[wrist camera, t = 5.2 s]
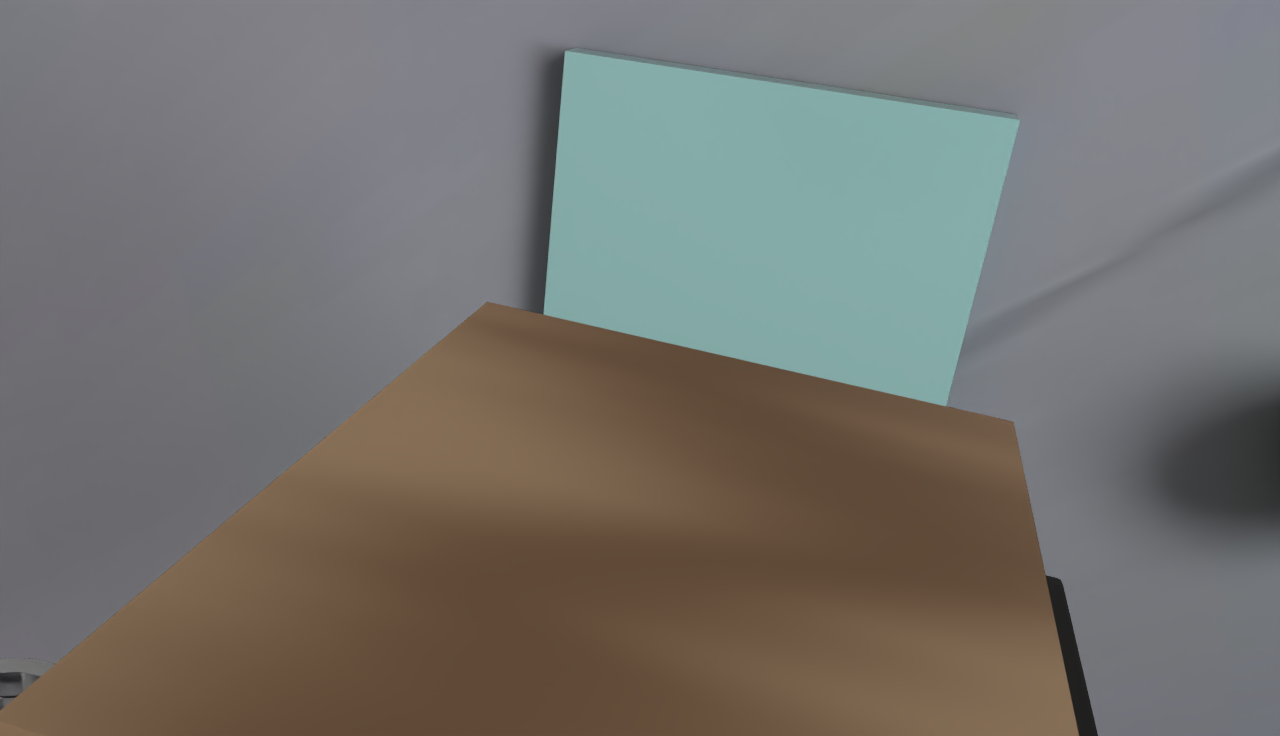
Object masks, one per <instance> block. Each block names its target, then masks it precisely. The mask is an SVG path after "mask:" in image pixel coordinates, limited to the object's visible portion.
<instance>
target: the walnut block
mask: <svg viewBox="0 0 1280 736" xmlns="http://www.w3.org/2000/svg"><path fill="white" fill-rule="evenodd" d="M0 736H1079V733H1078V728H1077V724H1076V719H1075V714H1074V709H1073V705H1072V700H1071V695H1070V690H1069V685H1068V681H1067V676H1066V671H1065V666H1064V662H1063V657H1062V652H1061V647H1060V642H1059V638H1058V633H1057V628H1056V623H1055V618H1054V614H1053V609H1052V604H1051V599H1050V595H1049V590H1048V585H1047V580H1046V575H1045V571H1044V566H1043V561H1042V556H1041V552H1040V547H1039V542H1038V537H1037V532H1036V528H1035V523H1034V518H1033V513H1032V509H1031V504H1030V499H1029V494H1028V489H1027V485H1026V480H1025V475H1024V470H1023V465H1022V461H1021V456H1020V451H1019V446H1018V442H1017V437H1016V432H1015V427H1014V422H1012V421H1008V420H1004V419H999V418H995V417H990V416H986V415H982V414H977V413H973V412H968V411H964V410H960V409H955V408H951V407H947V406H942V405H938V404H933V403H929V402H925V401H920V400H916V399H911V398H907V397H903V396H898V395H894V394H890V393H885V392H881V391H876V390H872V389H868V388H863V387H859V386H854V385H850V384H846V383H841V382H837V381H832V380H828V379H824V378H819V377H815V376H811V375H806V374H802V373H797V372H793V371H789V370H784V369H780V368H775V367H771V366H767V365H762V364H758V363H754V362H749V361H745V360H740V359H736V358H732V357H727V356H723V355H718V354H714V353H710V352H705V351H701V350H697V349H692V348H688V347H683V346H679V345H675V344H670V343H666V342H661V341H657V340H653V339H648V338H644V337H640V336H635V335H631V334H626V333H622V332H618V331H613V330H609V329H604V328H600V327H596V326H591V325H587V324H582V323H578V322H574V321H569V320H565V319H561V318H556V317H552V316H547V315H543V314H539V313H534V312H530V311H525V310H521V309H517V308H512V307H508V306H504V305H499V304H495V303H490V302H486V303H485V304H484V305H483V306H482V307H481V308H479V309H478V310H477V311H476V312H475V313H473V314H472V315H471V316H470V317H469V318H467V319H466V320H465V321H464V322H463V323H461V324H460V325H459V326H458V327H457V328H456V329H454V330H453V331H452V332H451V333H450V334H448V335H447V336H446V337H445V338H444V339H442V340H441V341H440V342H439V343H438V344H436V345H435V346H434V347H433V348H432V349H430V350H429V351H428V352H427V353H426V354H425V355H423V356H422V357H421V358H420V359H419V360H417V361H416V362H415V363H414V364H413V365H411V366H410V367H409V368H408V369H407V370H405V371H404V372H403V373H402V374H401V375H399V376H398V377H397V378H396V379H395V380H394V381H392V382H391V383H390V384H389V385H388V386H386V387H385V388H384V389H383V390H382V391H380V392H379V393H378V394H377V395H376V396H374V397H373V398H372V399H371V400H370V401H369V402H367V403H366V404H365V405H364V406H363V407H361V408H360V409H359V410H358V411H357V412H355V413H354V414H353V415H352V416H351V417H349V418H348V419H347V420H346V421H345V422H343V423H342V424H341V425H340V426H339V427H338V428H336V429H335V430H334V431H333V432H332V433H330V434H329V435H328V436H327V437H326V438H324V439H323V440H322V441H321V442H320V443H318V444H317V445H316V446H315V447H314V448H313V449H311V450H310V451H309V452H308V453H307V454H305V455H304V456H303V457H302V458H301V459H299V460H298V461H297V462H296V463H295V464H293V465H292V466H291V467H290V468H289V469H287V470H286V471H285V472H284V473H283V474H282V475H280V476H279V477H278V478H277V479H276V480H274V481H273V482H272V483H271V484H270V485H268V486H267V487H266V488H265V489H264V490H262V491H261V492H260V493H259V494H258V495H257V496H255V497H254V498H253V499H252V500H251V501H249V502H248V503H247V504H246V505H245V506H243V507H242V508H241V509H240V510H239V511H237V512H236V513H235V514H234V515H233V516H231V517H230V518H229V519H228V520H227V521H226V522H224V523H223V524H222V525H221V526H220V527H218V528H217V529H216V530H215V531H214V532H212V533H211V534H210V535H209V536H208V537H206V538H205V539H204V540H203V541H202V542H201V543H199V544H198V545H197V546H196V547H195V548H193V549H192V550H191V551H190V552H189V553H187V554H186V555H185V556H184V557H183V558H181V559H180V560H179V561H178V562H177V563H175V564H174V565H173V566H172V567H171V568H170V569H168V570H167V571H166V572H165V573H164V574H162V575H161V576H160V577H159V578H158V579H156V580H155V581H154V582H153V583H152V584H150V585H149V586H148V587H147V588H146V589H145V590H143V591H142V592H141V593H140V594H139V595H137V596H136V597H135V598H134V599H133V600H131V601H130V602H129V603H128V604H127V605H125V606H124V607H123V608H122V609H121V610H119V611H118V612H117V613H116V614H115V615H114V616H112V617H111V618H110V619H109V620H108V621H106V622H105V623H104V624H103V625H102V626H100V627H99V628H98V629H97V630H96V631H94V632H93V633H92V634H91V635H90V636H88V637H87V638H86V639H85V640H84V641H83V642H81V643H80V644H79V645H78V646H77V647H75V648H74V649H73V650H72V651H71V652H69V653H68V654H67V655H66V656H65V657H63V658H62V659H61V660H60V661H59V662H58V663H56V664H55V665H54V666H53V667H52V668H50V669H49V670H48V671H47V672H46V673H44V674H43V675H42V676H41V677H40V678H38V679H37V680H36V681H35V682H34V683H32V684H31V685H30V686H29V687H28V688H27V689H25V690H24V691H23V692H22V693H21V694H19V695H18V696H17V697H16V698H15V699H13V700H12V701H11V702H10V703H9V704H7V705H6V706H5V707H4V708H3V709H2V710H0Z"/></svg>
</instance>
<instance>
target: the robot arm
mask: <svg viewBox="0 0 1280 736" xmlns="http://www.w3.org/2000/svg"><path fill="white" fill-rule="evenodd" d="M1046 580H1047V585H1048V590H1049V595H1050V599H1051V604H1052V609H1053V614H1054V618H1055V623H1056V628H1057V633H1058V638H1059V642H1060V647H1061V652H1062V657H1063V662H1064V666H1065V671H1066V676H1067V681H1068V685H1069V690H1070V695H1071V700H1072V705H1073V709H1074V714H1075V719H1076V724H1077V728H1078V733H1079V736H1098V734H1097V730H1096V725H1095V721H1094V717H1093V713H1092V708H1091V704H1090V700H1089V695H1088V691H1087V687H1086V682H1085V678H1084V674H1083V669H1082V665H1081V661H1080V657H1079V652H1078V648H1077V644H1076V639H1075V635H1074V631H1073V626H1072V622H1071V618H1070V613H1069V609H1068V605H1067V601H1066V596H1065V592H1064V588H1063V585H1062V582H1061V580H1060V579H1058V578H1055V577H1051V576H1047V575H1046ZM55 664H56V663H51V662H46V661H40V660H35V659H0V710H2V709H3V708H4V707H5V706H6V705H7V704H9V703H10V702H11V701H12V700H13V699H15V698H16V697H17V696H18V695H19V694H21V693H22V692H23V691H24V690H25V689H27V688H28V687H29V686H30V685H31V684H32V683H34V682H35V681H36V680H37V679H38V678H40V677H41V676H42V675H43V674H44V673H46V672H47V671H48V670H49V669H50V668H52V667H53V666H54V665H55Z"/></svg>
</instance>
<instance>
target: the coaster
mask: <svg viewBox="0 0 1280 736" xmlns="http://www.w3.org/2000/svg"><path fill="white" fill-rule="evenodd" d="M1019 122H1020V119H1019V117H1018V115H1017V114H1010V113H1004V112H997V111H990V110H984V109H977V108H970V107H964V106H957V105H951V104H944V103H937V102H931V101H924V100H918V99H911V98H904V97H898V96H891V95H884V94H878V93H871V92H865V91H858V90H851V89H845V88H838V87H832V86H825V85H818V84H812V83H805V82H799V81H792V80H785V79H779V78H772V77H765V76H759V75H752V74H746V73H739V72H732V71H726V70H719V69H713V68H706V67H699V66H693V65H686V64H680V63H673V62H666V61H660V60H653V59H646V58H640V57H633V56H627V55H620V54H613V53H607V52H600V51H594V50H587V49H580V48H573V49H570V50H566V51H565V57H564V69H563V81H562V94H561V106H560V118H559V131H558V143H557V155H556V167H555V180H554V192H553V204H552V216H551V229H550V241H549V253H548V266H547V278H546V290H545V302H544V315H547V316H552V317H556V318H561V319H565V320H569V321H574V322H578V323H582V324H587V325H591V326H596V327H600V328H604V329H609V330H613V331H618V332H622V333H626V334H631V335H635V336H640V337H644V338H648V339H653V340H657V341H661V342H666V343H670V344H675V345H679V346H683V347H688V348H692V349H697V350H701V351H705V352H710V353H714V354H718V355H723V356H727V357H732V358H736V359H740V360H745V361H749V362H754V363H758V364H762V365H767V366H771V367H775V368H780V369H784V370H789V371H793V372H797V373H802V374H806V375H811V376H815V377H819V378H824V379H828V380H832V381H837V382H841V383H846V384H850V385H854V386H859V387H863V388H868V389H872V390H876V391H881V392H885V393H890V394H894V395H898V396H903V397H907V398H911V399H916V400H920V401H925V402H929V403H933V404H938V405H942V406H946V404H947V400H948V396H949V393H950V389H951V385H952V381H953V377H954V373H955V369H956V366H957V362H958V358H959V354H960V350H961V346H962V342H963V339H964V335H965V331H966V327H967V323H968V319H969V315H970V312H971V308H972V304H973V300H974V296H975V292H976V288H977V285H978V281H979V277H980V273H981V269H982V265H983V261H984V258H985V254H986V250H987V246H988V242H989V238H990V234H991V231H992V227H993V223H994V219H995V215H996V211H997V207H998V203H999V200H1000V196H1001V192H1002V188H1003V184H1004V180H1005V176H1006V173H1007V169H1008V165H1009V161H1010V157H1011V153H1012V149H1013V146H1014V142H1015V138H1016V134H1017V130H1018V126H1019Z"/></svg>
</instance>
